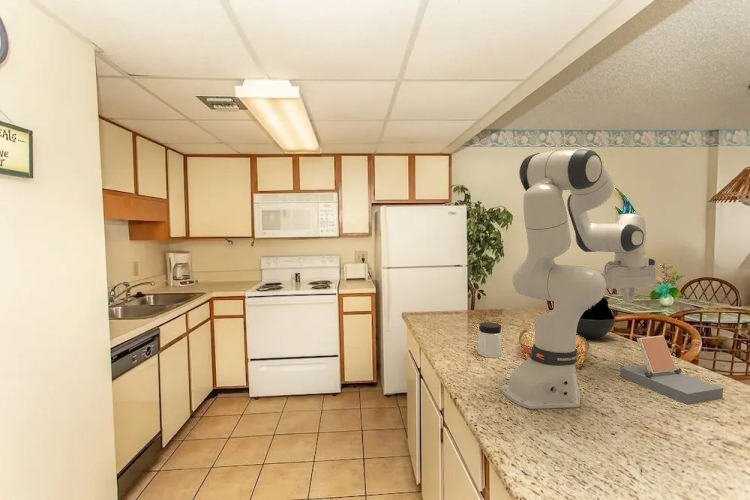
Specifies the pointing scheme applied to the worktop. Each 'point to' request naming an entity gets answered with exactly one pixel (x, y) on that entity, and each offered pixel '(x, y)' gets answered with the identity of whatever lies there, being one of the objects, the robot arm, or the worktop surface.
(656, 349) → the tile
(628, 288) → the robot arm
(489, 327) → the jar
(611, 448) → the worktop surface
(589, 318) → the coal bowl
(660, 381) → the stand
